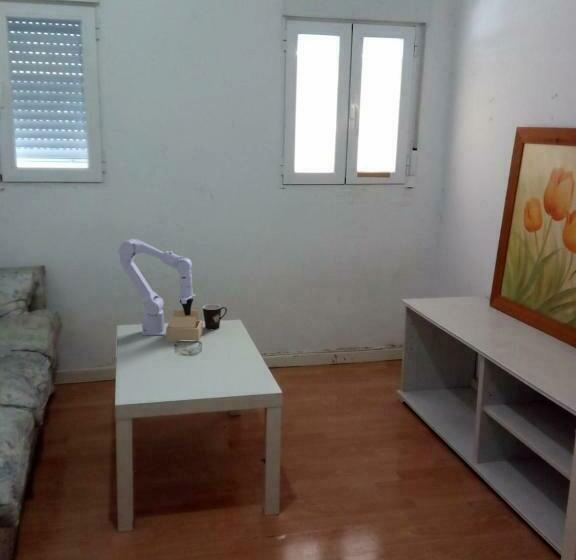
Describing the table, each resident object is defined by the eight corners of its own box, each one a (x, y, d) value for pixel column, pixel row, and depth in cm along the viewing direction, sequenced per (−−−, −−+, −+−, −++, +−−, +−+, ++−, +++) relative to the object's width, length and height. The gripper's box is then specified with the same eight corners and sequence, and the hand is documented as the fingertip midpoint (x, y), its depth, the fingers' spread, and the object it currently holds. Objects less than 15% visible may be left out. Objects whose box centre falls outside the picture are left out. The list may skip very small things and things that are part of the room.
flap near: (170, 316, 277) (170, 316, 276) (195, 317, 277) (195, 316, 276) (169, 327, 275) (169, 327, 275) (195, 327, 275) (195, 327, 274)
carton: (166, 341, 276) (166, 328, 274) (171, 332, 287) (171, 319, 286) (198, 342, 276) (198, 328, 274) (202, 332, 287) (202, 320, 286)
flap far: (198, 310, 283) (198, 309, 284) (173, 310, 283) (173, 309, 284) (198, 319, 285) (198, 319, 286) (174, 319, 285) (174, 319, 286)
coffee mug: (204, 331, 290) (203, 310, 287) (202, 325, 298) (201, 304, 295) (229, 329, 292) (229, 308, 290) (226, 323, 301) (226, 303, 298)
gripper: (192, 289, 274) (194, 319, 277) (197, 281, 288) (199, 310, 291) (175, 289, 274) (177, 319, 277) (181, 281, 288) (183, 310, 291)
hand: (187, 315), depth 284 cm, fingers closed, pressing on flap far
